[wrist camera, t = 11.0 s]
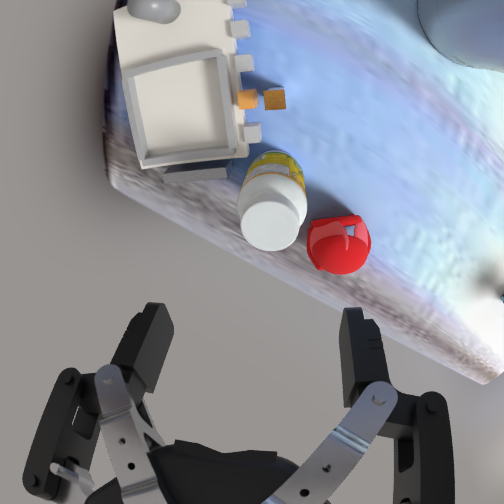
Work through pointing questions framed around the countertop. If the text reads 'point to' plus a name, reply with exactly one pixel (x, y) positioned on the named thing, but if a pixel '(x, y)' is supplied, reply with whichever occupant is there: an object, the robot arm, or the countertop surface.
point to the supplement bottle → (272, 201)
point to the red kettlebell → (338, 244)
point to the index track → (220, 167)
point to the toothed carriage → (185, 80)
